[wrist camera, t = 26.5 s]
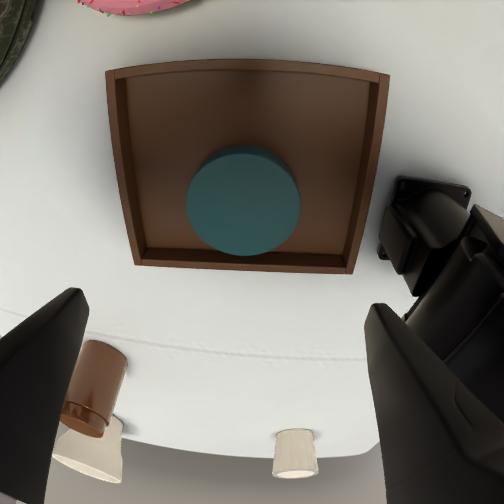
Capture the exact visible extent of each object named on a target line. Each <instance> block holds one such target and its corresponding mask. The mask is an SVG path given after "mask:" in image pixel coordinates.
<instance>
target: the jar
mask: <svg viewBox="0 0 504 504" xmlns="http://www.w3.org/2000/svg"><path fill="white" fill-rule="evenodd" d="M127 366H128V362H127V360H126V358H125V357H124V355H123V354H122V353H121V352H119V351H118V350H117V349H115V348H114V347H112V346H110V345H108V344H106V343H103V342H99V341H87V342H85V343H84V344H83V346H82V349H81V351H80V353H79V356H78V359H77V362H76V365H75V368H74V372H73V375H72V378H71V381H70V385H69V388H68V392H67V395H66V399H65V402H64V406H63V410H62V413H61V417H60V421H61V422H62V423H63V424H65V425H66V426H68V427H69V428H71V429H73V430H75V431H77V432H79V433H81V434H84V435H86V436H90V437H94V438H102V437H103V434H104V431H105V428H106V427H107V426H109V424H110V421H111V417H112V414H113V410H114V407H115V404H116V401H117V397H118V394H119V391H120V388H121V385H122V382H123V379H124V375H125V372H126V369H127Z"/></svg>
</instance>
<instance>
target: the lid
mask: <svg viewBox="0 0 504 504" xmlns="http://www.w3.org/2000/svg"><path fill="white" fill-rule="evenodd" d="M300 211H301V204H300V196H299V192H298V188H297V183H296V180H295V177H294V175H293V173H292V171H291V169H290V168H289V167H288V165H287V164H286V163H285V162H284V161H283V160H282V159H281V158H280V157H278V156H277V155H276V154H274V153H272V152H270V151H269V150H266V149H264V148H261V147H257V146H251V145H235V146H230V147H226V148H223V149H221V150H219V151H217V152H215V153H213V154H212V155H211V156H209V157H208V158H207V159H206V160H205V161H204V162H203V163H202V164H201V165H200V167H199V168H198V170H197V172H196V173H195V175H194V177H193V179H192V181H191V183H190V185H189V187H188V190H187V194H186V212H187V216H188V219H189V222H190V224H191V226H192V227H193V229H194V231H195V232H196V233H197V235H198V236H199V237H200V238H201V239H202V240H203V241H205V242H206V243H207V244H208V245H210V246H212V247H213V248H215V249H217V250H219V251H222V252H225V253H228V254H232V255H239V256H250V255H257V254H262V253H265V252H268V251H270V250H272V249H274V248H276V247H277V246H279V245H280V244H282V243H283V242H284V241H285V240H286V239H287V238H288V237H289V236H290V235H291V233H292V232H293V231H294V229H295V227H296V225H297V222H298V220H299V216H300Z"/></svg>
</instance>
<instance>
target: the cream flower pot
mask: <svg viewBox="0 0 504 504" xmlns="http://www.w3.org/2000/svg"><path fill="white" fill-rule="evenodd" d="M122 427H123V424H122V422H121V421H120V420H119V419H118V418H116V417H115V416H113V415H112V417H111V421H110V424H109V426H107V427H106V428H105V431H104V434H103V437H102V438H94V437H90V436H86V435H84V434H81V433H79V432H77V431H75V430H73V429H71V428H70V429H69V430H68V431H67V432H66V433H64V434H63V435H61V436H60V438H59V440H58V442H57V443H56V445H55V447H54V449H53V452H52V456H53V457H54V458H55V459H57V460H58V461H59V462H61V463H63V464H65V465H67V466H68V467H71V468H73V469H75V470H77V471H79V472H81V473H84V474H86V475H89V476H92V477H95V478H98V479H101V480H104V481H108V482H112V483H120V482H122V463H123V460H122V457H121V435H122Z"/></svg>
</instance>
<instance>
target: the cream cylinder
mask: <svg viewBox="0 0 504 504" xmlns="http://www.w3.org/2000/svg"><path fill="white" fill-rule="evenodd" d="M317 473H318V466H317V459H316V453H315V447H314V441H313V435H312V432H311V431H309V430H306V429H289V430H284V431H282V432H279V433H278V434H277V436H276V445H275V454H274V463H273V471H272V475H273V476H274V477H277V478H290V479H291V478H292V479H293V478H304V477H309V476H313V475H316V474H317Z"/></svg>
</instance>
